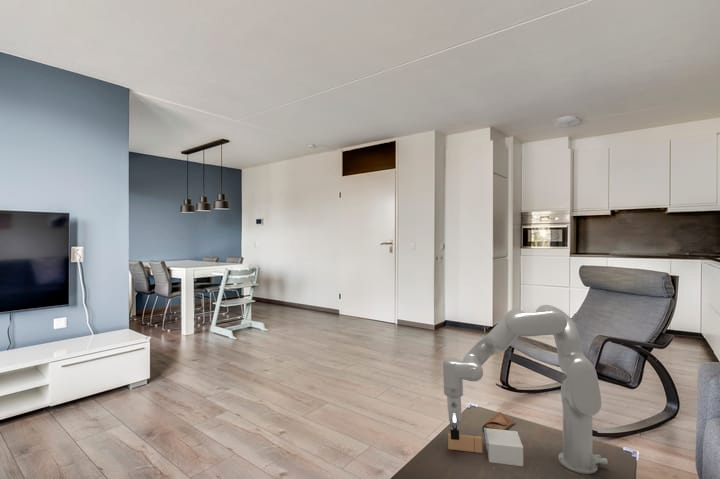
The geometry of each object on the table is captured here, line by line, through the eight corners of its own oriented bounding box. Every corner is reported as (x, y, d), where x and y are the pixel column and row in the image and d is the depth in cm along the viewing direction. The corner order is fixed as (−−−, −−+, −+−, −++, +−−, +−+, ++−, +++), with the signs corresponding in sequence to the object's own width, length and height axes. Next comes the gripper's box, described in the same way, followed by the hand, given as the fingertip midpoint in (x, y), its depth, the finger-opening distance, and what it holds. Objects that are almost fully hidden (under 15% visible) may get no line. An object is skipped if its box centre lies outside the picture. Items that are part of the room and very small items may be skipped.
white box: (517, 448, 149) (517, 430, 149) (523, 466, 137) (523, 447, 137) (483, 444, 152) (483, 427, 152) (486, 461, 140) (486, 442, 140)
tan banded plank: (481, 450, 147) (481, 436, 147) (482, 453, 146) (482, 438, 146) (448, 446, 150) (448, 432, 150) (448, 449, 148) (448, 435, 149)
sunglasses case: (501, 438, 157) (493, 422, 159) (487, 441, 161) (480, 425, 163) (517, 423, 170) (509, 408, 172) (503, 426, 174) (496, 412, 176)
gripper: (464, 399, 140) (465, 445, 139) (462, 382, 157) (463, 423, 156) (443, 398, 141) (445, 443, 141) (443, 381, 158) (445, 422, 158)
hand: (454, 433), depth 149 cm, fingers open, 9 cm apart
